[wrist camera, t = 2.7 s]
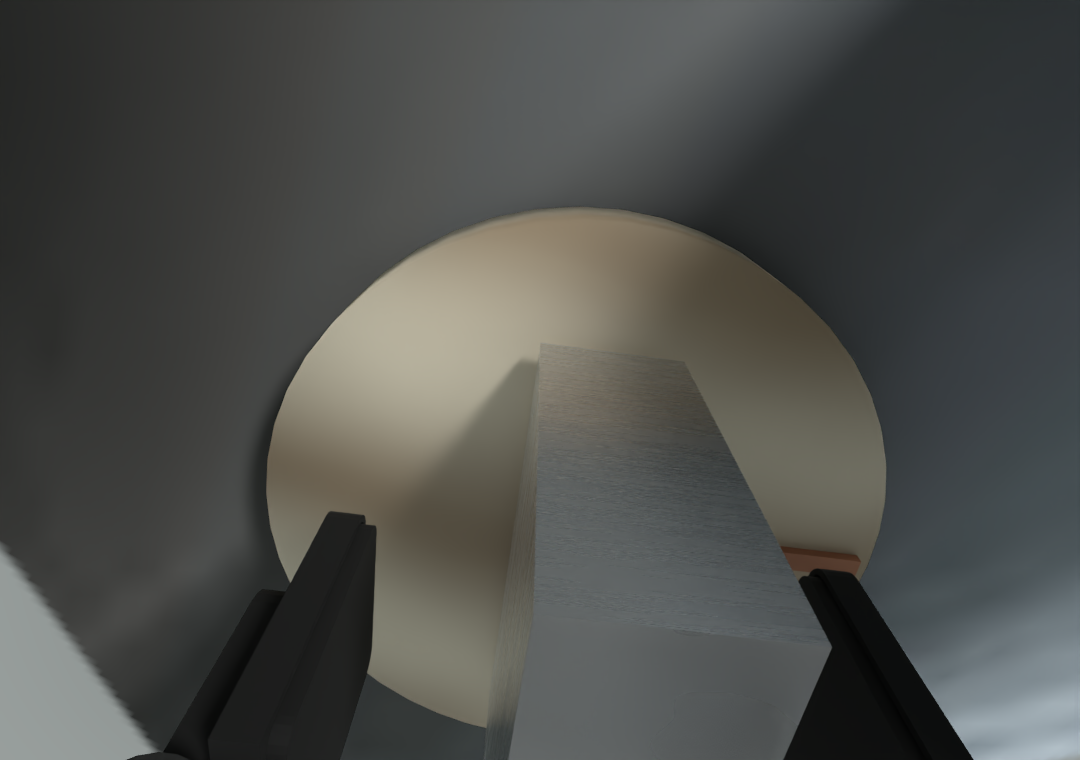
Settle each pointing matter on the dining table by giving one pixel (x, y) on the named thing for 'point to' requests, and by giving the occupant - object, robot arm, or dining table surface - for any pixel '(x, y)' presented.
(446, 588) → the dial base
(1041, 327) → the dining table surface
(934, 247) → the dining table surface
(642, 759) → the dial knob
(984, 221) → the dining table surface
